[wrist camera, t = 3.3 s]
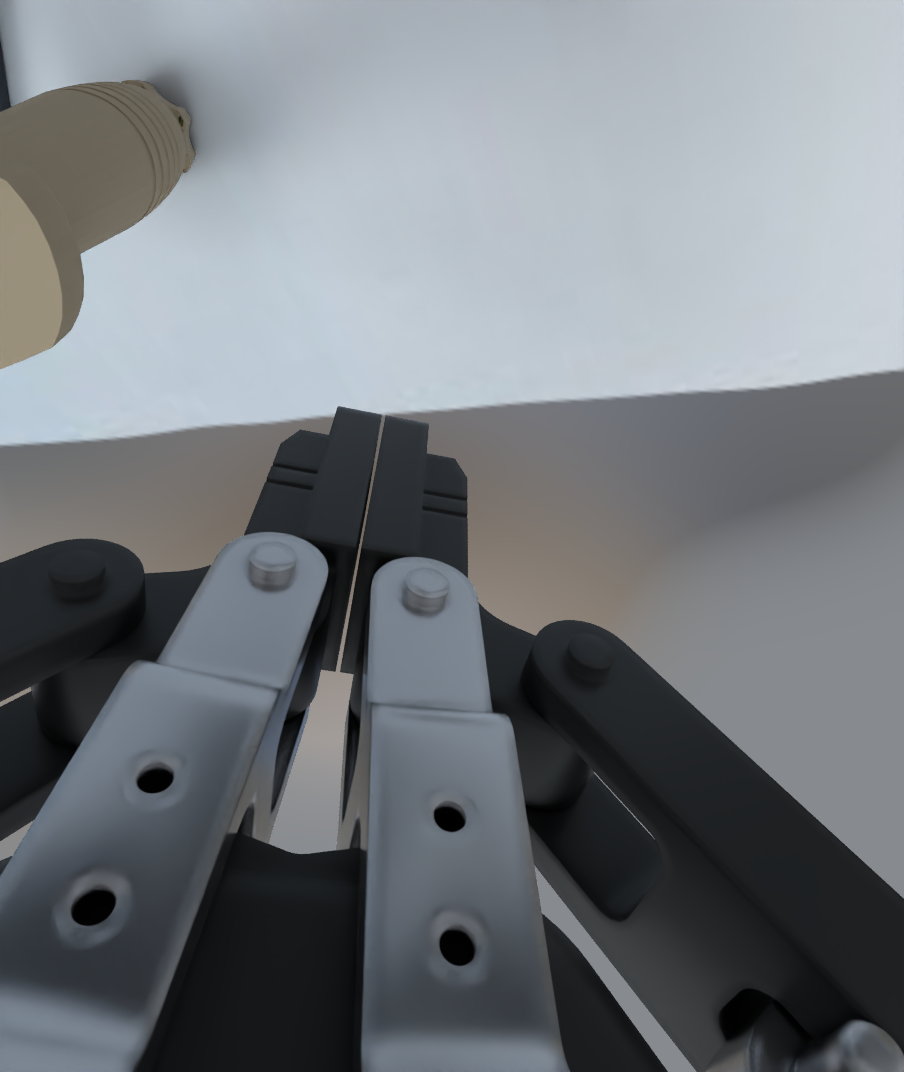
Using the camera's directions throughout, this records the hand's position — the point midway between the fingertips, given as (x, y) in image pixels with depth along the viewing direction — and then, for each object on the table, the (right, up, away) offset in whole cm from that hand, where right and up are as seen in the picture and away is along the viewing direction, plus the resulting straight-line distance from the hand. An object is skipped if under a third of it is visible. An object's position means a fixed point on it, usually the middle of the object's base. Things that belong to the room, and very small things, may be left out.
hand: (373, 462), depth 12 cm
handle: (-9, +13, +14) cm, 22 cm away
